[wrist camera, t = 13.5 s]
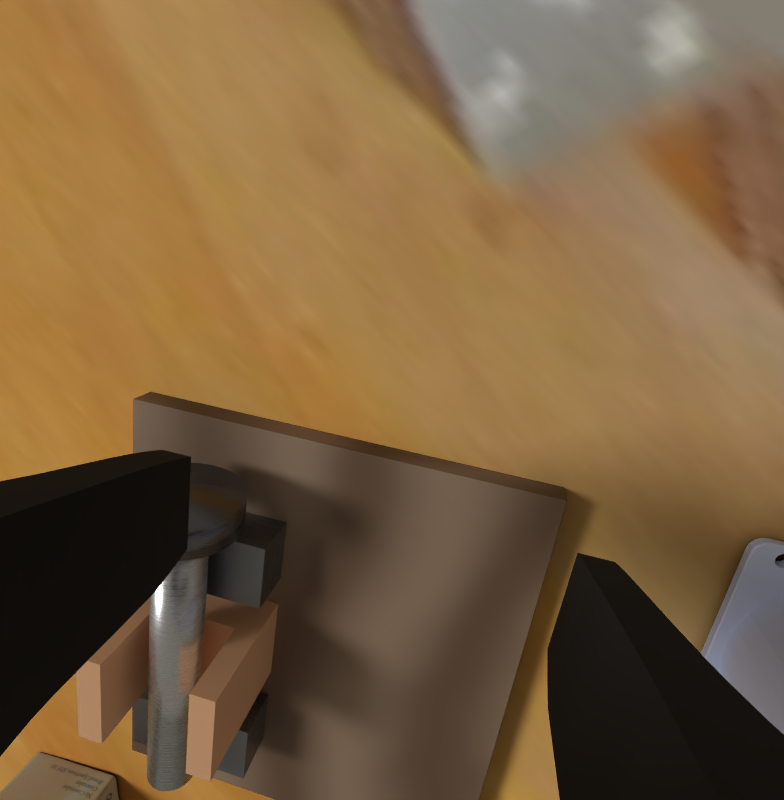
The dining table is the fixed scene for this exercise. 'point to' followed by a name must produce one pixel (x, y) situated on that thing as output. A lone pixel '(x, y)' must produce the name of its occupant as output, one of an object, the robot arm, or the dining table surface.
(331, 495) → the board
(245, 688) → the bracket
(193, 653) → the shaft
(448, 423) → the dining table surface
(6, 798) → the box
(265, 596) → the supports
